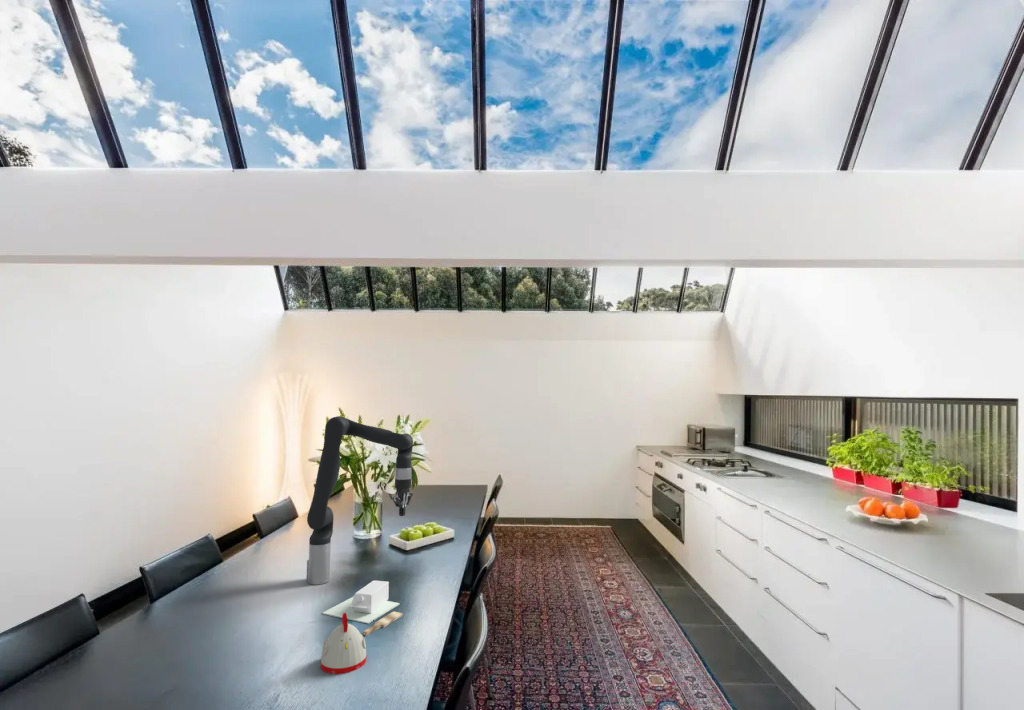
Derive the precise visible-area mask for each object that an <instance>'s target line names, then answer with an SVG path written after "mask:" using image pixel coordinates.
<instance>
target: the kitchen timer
mask: <svg viewBox="0 0 1024 710" xmlns="http://www.w3.org/2000/svg"><path fill="white" fill-rule="evenodd" d="M366 662H367V645H366V639H365V637H364V635H363V633H361V632H360V631H359V630H358V628H357V627H356V626H354V625H353V624H352V623H348V619H347V615H346V613H343V617H342V618H341V624H339V625H337V626H336V627H335V628H334V629H333V630H332V631H331V633H330V634H329V635H328V637H327V640H324V641H323V645H322V651H321V659H320V669H321V670H322V671H323V672H325V673H329V674H332V675H333V674H335V675H341V674H348V673H351V672H354V671H357V670H358V669H360V668H362V667H363V666H364V665H365V664H366Z"/></svg>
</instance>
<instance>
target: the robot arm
mask: <svg viewBox="0 0 1024 710" xmlns="http://www.w3.org/2000/svg"><path fill="white" fill-rule="evenodd" d="M344 436H352V437H357V438H360V439H363V440H366V441H369V442H372V443H376V444H379V445H382V446H388V447H391V448H393V449H397V456H396V459H395V471H394V488H395V489H396V491H395V495H394V496H392V498H391V499H392V501H393V503H394V505H395V507H396V508H399V509H398V516H400V517H404V516H405V515H406V507H407V506H408V505H410V502H411V500H412V497H413V492H410V491H411V490H410V489H411V488H412V477H413V476H412V473H413V472H412V456H413V455H412V453H413V449H414V448H413V446H414V440H413V437H412V436H411V434H410V433H405V432H404V433H397V432H394V431H392V430H390V429H385V428H381V427H378V426H377V427H376V426H371V425H367V424H362V423H360V422H357V421H354V420H351V419H349V418H346V417H344V416H341V415H340V416H339V415H337V416H334V417H331V418H329V419H328V420H327V422H326V423H325V428H324V440H323V447H322V451H321V455H320V460H319V465H318V468H317V475H316V480H315V485H314V491H313V496H312V499H311V503H310V506H309V510H308V512H307V517H306V518H307V520H306V521H307V523H306V524H307V525H308V527H309V528H310V529H311V530H313V531H312V532H311V534H310V536H309V540H308V541H309V543H308V544H309V545H308V559H307V561H306V579H305V580H306V583H308V584H309V585H315V586H316V585H317V586H318V585H323V584H327V583H329V582H330V578H331V573H330V572H331V548H332V547H331V544H332V543H331V542H332V536H333V533H334V529H333V528H334V518H335V517H334V512H333V510H332V508H331V507H330V506H329V505H328V504H329V501H330V497H331V495H332V493H333V491H334V489H335V487H336V484H337V483H338V480H339V479H338V478H339V473H340V469H341V457H340V448H341V444H342V440H343V437H344Z"/></svg>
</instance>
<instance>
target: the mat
mask: <svg viewBox="0 0 1024 710" xmlns="http://www.w3.org/2000/svg"><path fill="white" fill-rule="evenodd" d="M353 597H354V595H353V596H352V597H350V598H348V599H346V600H344V601H342V602H340V603H338V604H337V605H335V606H333V607H330V608H328V609H326V610H325V611H323V612H322V614H321V615H325V616H330V617H336V618H338V619H339V618H341V619H342V617H343V613H346V615H347V621H348V620H349V621H354V622H358V623H363V624H368V625H369V624H370V623H372V622H374V621H375V620H377V619H379V618H380V617H382V616H384V615H385V614H386V613H388V612H390V611H392V610H393V609H395V608H397V607H398V606H399V605H401V603H400V602H394V601H392V600H387V601H386V602H384V603H383V604H382V605H381V606H380V607H378V608H377V609H376V610H375V611H373V612H372V613H371V614H370V613H361V612H354V610H353V609H352V607H349V606H350V605H351V603H352V600H353ZM373 620H374V621H373Z"/></svg>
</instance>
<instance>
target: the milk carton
mask: <svg viewBox="0 0 1024 710" xmlns="http://www.w3.org/2000/svg"><path fill="white" fill-rule="evenodd" d="M389 585H390V582H389V581H384V580H372V581H370V582H369V583H368V584H366V585H365V586H364V587H362V588H361V589H358V591H356V592H355V593H354V595H353V596H354V597H353V596H352V597H353V600H352V603H351V605H350V606H349V607H352V609H353V610H354V612H361V613H370V614H371V613H372V612H373V611H375V610H376V609H377V608H378V607H380V606H381V605H382V604H383V603H384V602H386V601H389V593H390V591H389V589H390V587H389Z"/></svg>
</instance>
